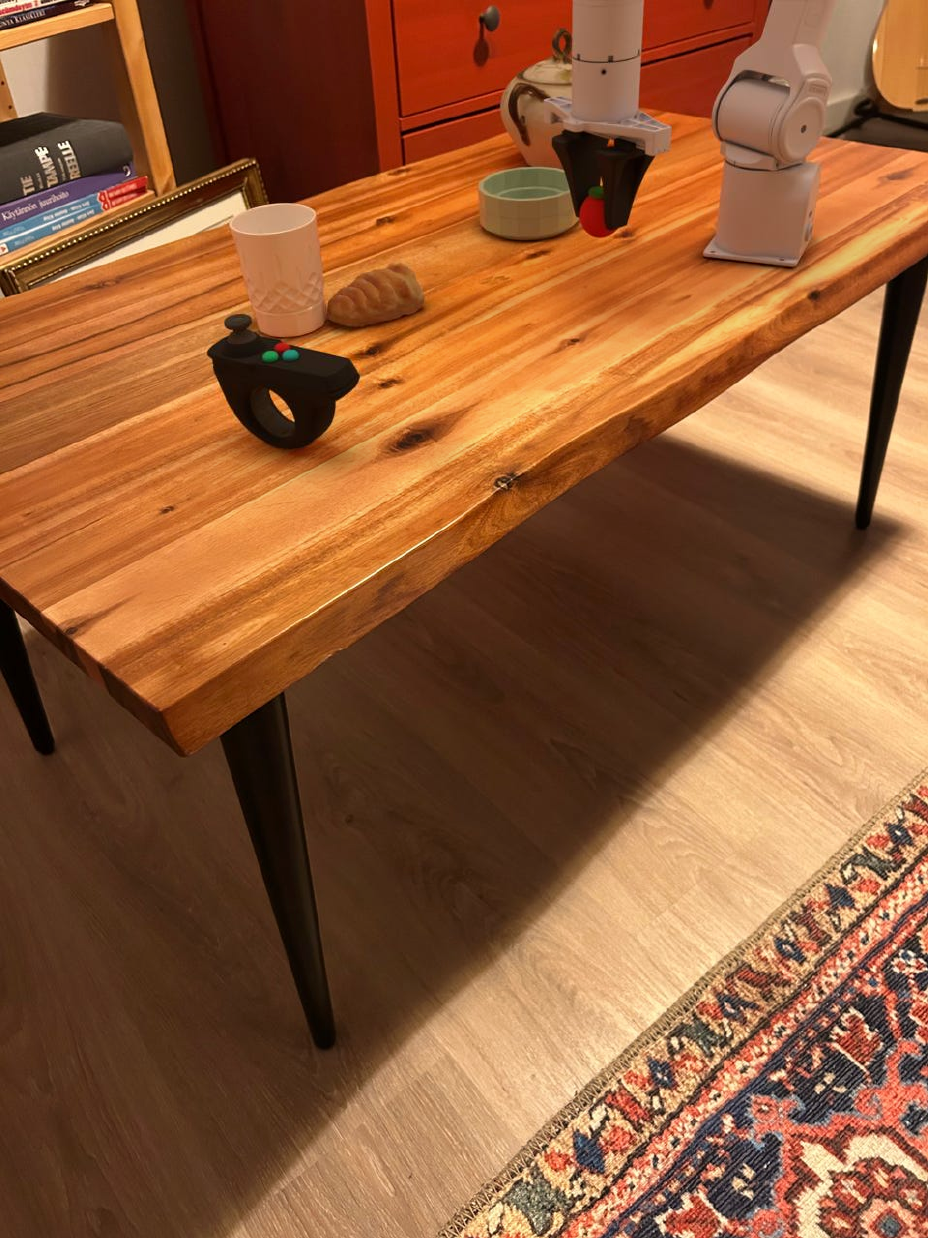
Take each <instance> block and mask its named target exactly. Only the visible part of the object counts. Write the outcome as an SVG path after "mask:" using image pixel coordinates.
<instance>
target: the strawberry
mask: <svg viewBox="0 0 928 1238" xmlns="http://www.w3.org/2000/svg"><path fill="white" fill-rule="evenodd" d="M579 217H580V218H579V223H580V225H581V227H582V229H583V231H584V232H585V233H586V234H588V235H589V236H591V237H593V238H596V239H603V238H608V237H610V236H612V235H614V233H615V232H617V231H618V229H615V230H608V229H606V226H605V220H604V192H603V185H600V186H595V187H592V188H590V189H589V196H588V197H587V198H586V199H585V200H584V202H583V204H582V206H581V208H580V215H579Z"/></svg>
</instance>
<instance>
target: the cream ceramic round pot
mask: <svg viewBox="0 0 928 1238" xmlns="http://www.w3.org/2000/svg"><path fill="white" fill-rule="evenodd" d="M561 38H563V39H564V41H565V44H564V48H563V50H562V48H561V46H560V40H561ZM551 48H552V52H553V54H552V55H551V56H549V57H548V58H547V59H545V60H542V61H538V62H536V63H534V64H533V65H530V66H529V67H526V68H524V69H522V70H520V71H519V70H518V72H517V73H516V74H515V77H514V78H513V79H512V80H511V81H510V82H509V83H508V84H507V86H506V87H505V89H504V91H503V93H502V96H501V98H500V99H501V100H500V104H499V110H500V118H501V121H502V124H503V126H504V129H505V131H506V132H507V134H508V136H509V137H510V138H511V140H512V141H513V143H514V144H515V146H516V148H517V149H518V150H519V152H520V154H521V155H522V157H523V158H524V160H525V162H526V164H527V165H528V166H529V167H548V168H558V169H561V170H563V167H562V165H561V162H560V160H559V158H558V156H557V154H556V152H555V151H554V149H553V147H552V137H554V136H557V135H560V134H562V131H563V130H564V128H563V125H562V124H558V123H555V124H548V123H544V100H545V99H549V98H552V97H556V96H560V95H561V96H565V97H570V98H572V55H571V54H572V33H571V32H570V31H568V29H566V28H565V27H559V28H558V29H557V30H556V31H555V33H554V34H553V36H552V40H551Z"/></svg>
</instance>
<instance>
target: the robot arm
mask: <svg viewBox="0 0 928 1238" xmlns="http://www.w3.org/2000/svg"><path fill="white" fill-rule="evenodd" d="M836 2H837V0H772V1H771V5H770V7H769V11H768V13H767V17H766V20H765V24H764V26H763V29H762V30H763V31H762V34H761V36H760V39H758V40H757V41H756V42H754V44H752V45H751V46H750V47H748V48H747V49H746V50H744V51H743V52H742V53H740V55H738V56H737V57H736V58H735V59H734V61H733V66H732V68H731V72H730V74H729V76H728V78H727V80H726V82H725V83H724V85H723V86H722V88H721V89H720V90H719V93H718V95H716V99H715V101H714V103H713V107H712V111H711V119H710V120H711V130H712V133H713V135H714V137H715V138H716V140H718V142H719V143H720V151H719V154H720V155H722V156H723V157H724V158H723V159H724V160H723V167H722V168H723V169H722V177H721V185H720V193H719V194H720V195H719V203H718V212H717V213H718V214H717V222H716V230H715V234H714V236H713V237H712V239H711V240H710V242H708V244H707V246H706V247H705V249H704V250H703V252H702V256H703V257H706V258H713V259H722V260H730V261H739V262H747V263H756V264H764V265H774V266H782V267H791V268H794V267H796V266H797V265H798V264H799V262H800V260H801V258H802V257H803V254H804V253H805V251H806V248H807V247H808V246H809V244H810V242H811V239H812V234H813V230H814V229H813V228H814V218H815V213H816V207H817V202H818V196H819V195H818V194H819V192H820V191H819V189H820V185H821V179H822V177H821V176H822V164H821V163H820V162H816V161H810V160H807V157H808V156H809V155H810V154H811V153H812V152H813V151H814V150H815V148H816V146H817V145H818V143H819V141H820V139H821V137H822V136H823V133H824V129H825V125H826V119H827V105H828V99H829V96H830V93H831V90H832V88H833V85H834V81H833V78H832V76H831V74H830V72H829V70H828V68H827V67H826V65H825V63H824V62H823V60H822V57H821V56H820V52H819V51H820V48H821V45H822V43H823V39H824V36H825V35H826V34H825V33H826V31H827V28H828V24H829V22H830V19H831V17H832V13H833V10H834V7H835V5H836ZM644 5H645V0H572V24H571V25H572V28H571V29H572V30H571V32H572V33H571V37H572V43H571V44H572V53H571V56H572V98H570V97H565V96H561V95H560V96H556V97H552V98H549V99H545V100H544V123H548V124H555V123H558V124H562V125H563V128H564V130H563V131H562V134H560V135H557V136H554V137H552V147H553V149H554V151H555V152H556V154H557V156H558V158H559V160H560V162H561V165H562V167H563V170H564V172H565V175H566V178H567V182H568V185H569V189H570V193H571V198H572V202H573V207H574V211H575V215H576V217H578V218H579V219H580V217H579V215H580V208H581V206H582V204H583V202H584V200H585V199H586V198H587V197H588V196H589V189H590V188H592V187H595V186H601V184H602V186H603V192H604V220H605V226H606V229H608V230H615V229H617V230H618V229H620V228H621V229H622V228H624V227H626V226H628V224H629V220H630V217H631V213H632V211H633V210H632V209H633V206H634V203H635V199H636V196H637V193H638V191H639V188H640V186H641V183H642V181H643V179H644V177H645V175H646V173H647V171H648V169H649V168H650V166H651V164H652V163H653V161H654V159H655V158H656V156H658V155H662V154H665V153H669V152H670V151H671V142H672V130H673V129H672V128H673V127H672V125H668V124H666V123H662V122H660V121H659V120H657V119H655V118H654V117H653V116H651V115H649V114H648V113H647V112H645V111H643V110H642V109H640V108H639V101H640V82H641V81H640V80H641V64H642V63H641V60H642V45H643V44H642V42H643V24H644V23H643V22H644ZM774 78H780V79H783V80H785V81H786V83H787V84H788V85H785V84H781V83H776V82H773V81H771V80H773V79H774ZM610 141H613V145H609V142H610Z"/></svg>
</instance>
